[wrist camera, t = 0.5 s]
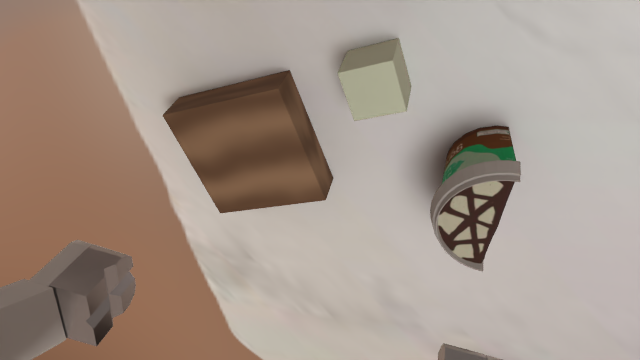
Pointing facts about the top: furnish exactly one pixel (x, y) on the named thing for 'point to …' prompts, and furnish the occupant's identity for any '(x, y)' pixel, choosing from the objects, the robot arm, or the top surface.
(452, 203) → the food container
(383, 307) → the top surface
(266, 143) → the walnut base
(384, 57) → the sage block
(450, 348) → the robot arm
